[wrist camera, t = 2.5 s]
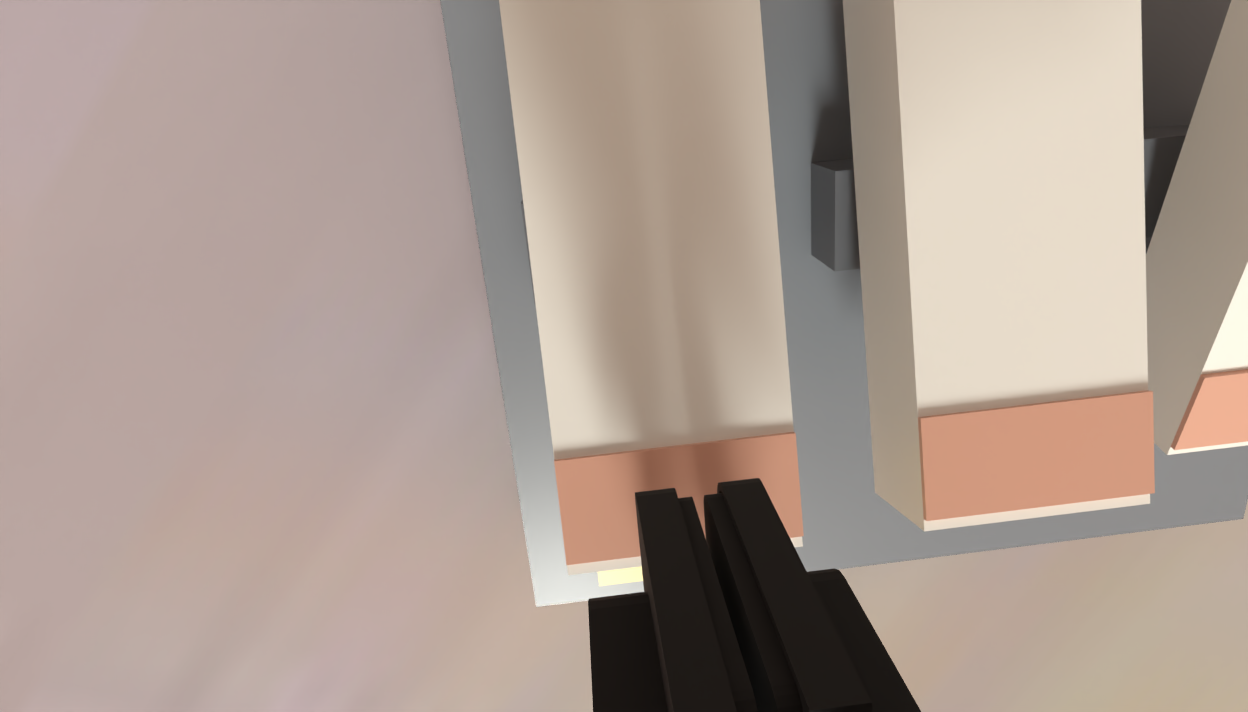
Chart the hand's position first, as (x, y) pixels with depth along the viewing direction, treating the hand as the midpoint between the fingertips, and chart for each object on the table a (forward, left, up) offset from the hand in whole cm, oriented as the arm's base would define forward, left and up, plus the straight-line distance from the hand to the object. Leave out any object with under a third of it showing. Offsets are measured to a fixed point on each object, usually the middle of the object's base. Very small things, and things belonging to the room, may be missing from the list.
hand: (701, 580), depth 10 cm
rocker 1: (-4, 0, -3) cm, 5 cm away
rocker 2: (-4, +5, -3) cm, 7 cm away
